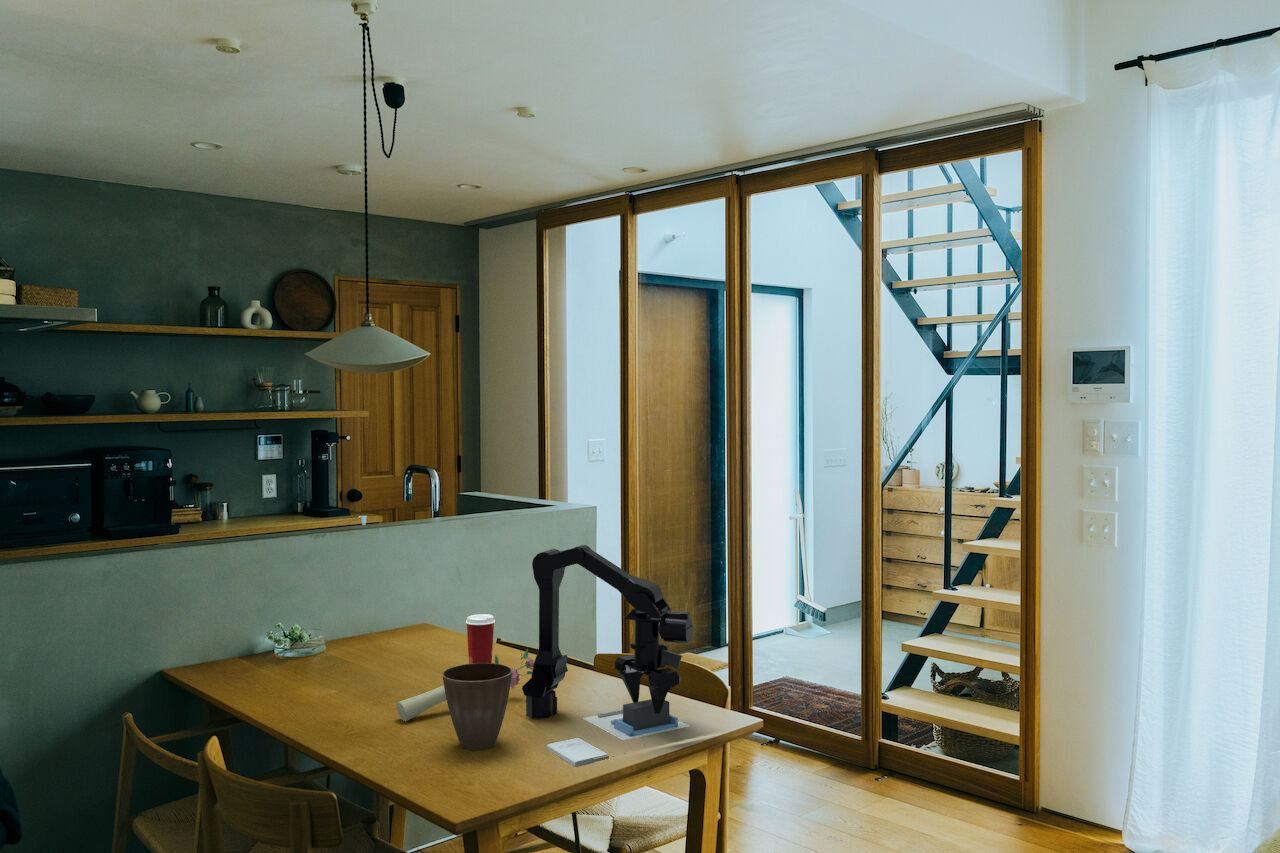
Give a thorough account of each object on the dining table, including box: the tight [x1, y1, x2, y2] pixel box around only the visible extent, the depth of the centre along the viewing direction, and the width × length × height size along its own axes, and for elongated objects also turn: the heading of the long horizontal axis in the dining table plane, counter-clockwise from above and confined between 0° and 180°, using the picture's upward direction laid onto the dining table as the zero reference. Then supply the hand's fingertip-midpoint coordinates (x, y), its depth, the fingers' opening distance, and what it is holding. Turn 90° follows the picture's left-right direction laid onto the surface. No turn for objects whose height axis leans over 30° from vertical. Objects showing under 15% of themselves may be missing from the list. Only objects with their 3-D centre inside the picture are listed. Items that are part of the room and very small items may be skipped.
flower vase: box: [396, 648, 534, 723], centre depth 239 cm, size 12×12×35 cm
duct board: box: [582, 708, 690, 741], centre depth 226 cm, size 18×18×3 cm
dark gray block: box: [622, 699, 670, 731], centre depth 223 cm, size 10×4×6 cm, turn 123°
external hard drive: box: [546, 737, 610, 767], centre depth 208 cm, size 2×8×12 cm
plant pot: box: [442, 662, 512, 751], centre depth 213 cm, size 15×15×16 cm
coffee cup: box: [465, 613, 496, 664], centre depth 274 cm, size 8×8×15 cm
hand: (646, 708), depth 222 cm, fingers open, 9 cm apart
